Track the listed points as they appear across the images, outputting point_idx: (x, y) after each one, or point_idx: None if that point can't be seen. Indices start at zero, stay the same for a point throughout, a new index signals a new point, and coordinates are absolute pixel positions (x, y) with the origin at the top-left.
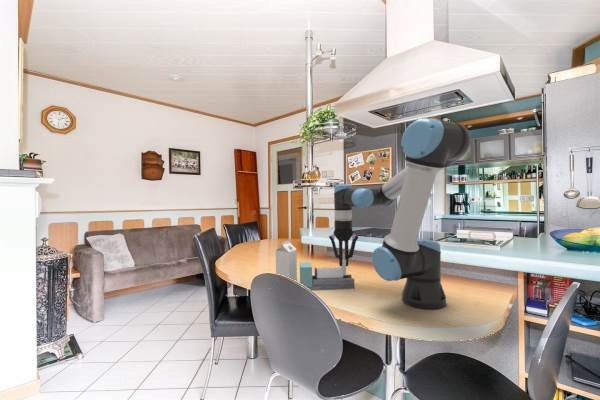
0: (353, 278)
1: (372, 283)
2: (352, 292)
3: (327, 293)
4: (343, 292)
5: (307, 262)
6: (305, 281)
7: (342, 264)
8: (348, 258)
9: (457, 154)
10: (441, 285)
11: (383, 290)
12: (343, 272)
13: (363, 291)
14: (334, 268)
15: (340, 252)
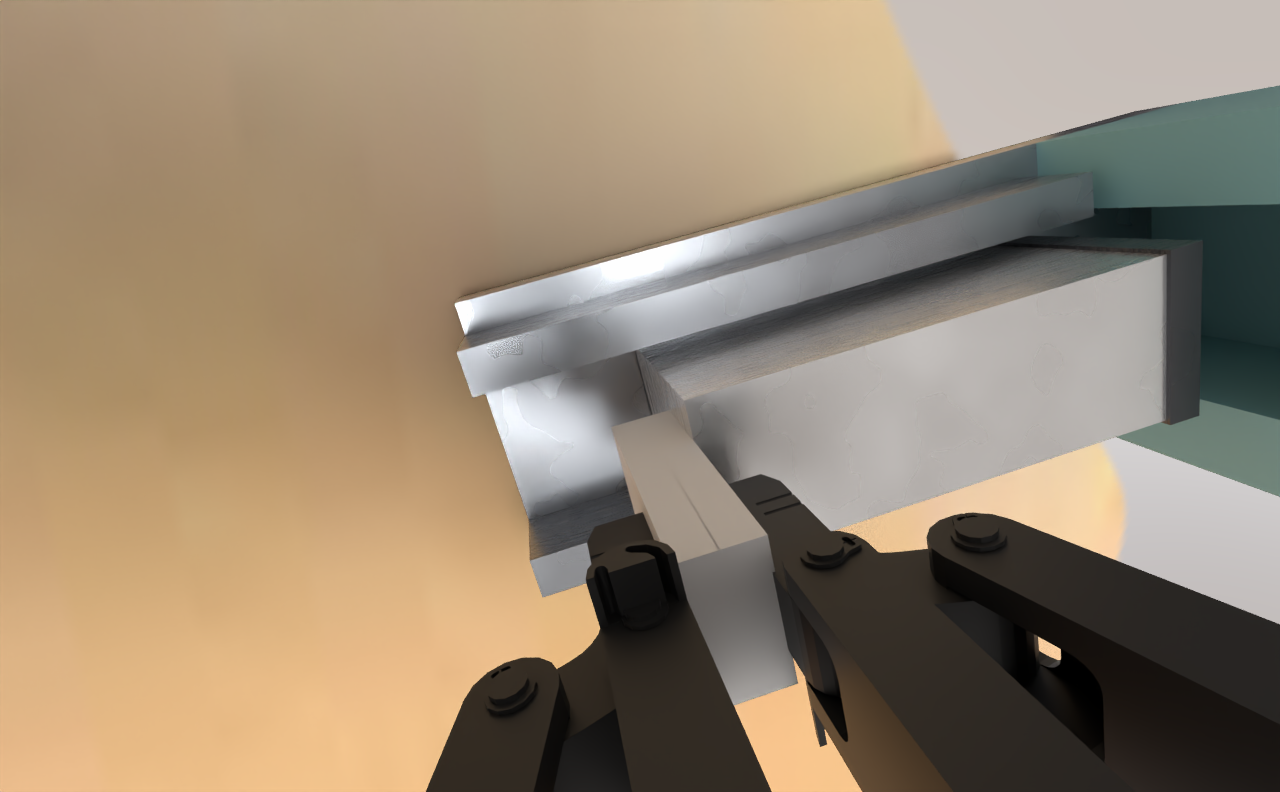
0: (474, 375)
1: (242, 590)
2: (475, 134)
3: (811, 34)
4: (602, 113)
5: None
6: (1189, 108)
7: (724, 487)
8: (594, 574)
9: None
10: None
11: (11, 311)
12: (662, 424)
13: (319, 208)
14: (852, 447)
15: (955, 664)
